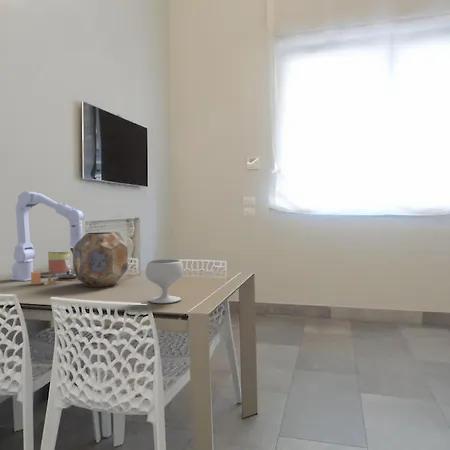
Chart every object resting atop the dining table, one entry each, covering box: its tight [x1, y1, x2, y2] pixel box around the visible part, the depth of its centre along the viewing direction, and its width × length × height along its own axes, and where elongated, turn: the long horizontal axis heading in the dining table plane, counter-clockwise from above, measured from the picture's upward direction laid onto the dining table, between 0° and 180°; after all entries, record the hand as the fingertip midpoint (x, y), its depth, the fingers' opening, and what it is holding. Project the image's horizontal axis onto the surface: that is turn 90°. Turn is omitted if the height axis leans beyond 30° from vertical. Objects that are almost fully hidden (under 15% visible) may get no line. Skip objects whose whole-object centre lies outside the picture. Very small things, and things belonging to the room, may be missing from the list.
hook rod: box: [30, 271, 62, 285], centre depth 204 cm, size 13×4×6 cm, turn 112°
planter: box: [72, 231, 129, 288], centre depth 198 cm, size 22×24×24 cm
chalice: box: [145, 258, 184, 304], centre depth 162 cm, size 14×14×15 cm
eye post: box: [43, 268, 56, 286], centre depth 204 cm, size 5×10×6 cm, turn 22°
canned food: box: [47, 249, 71, 275], centre depth 240 cm, size 11×11×12 cm
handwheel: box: [57, 268, 76, 279], centre depth 217 cm, size 10×10×4 cm
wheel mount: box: [51, 277, 78, 282], centre depth 217 cm, size 11×11×1 cm
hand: (76, 262), depth 212 cm, fingers closed
